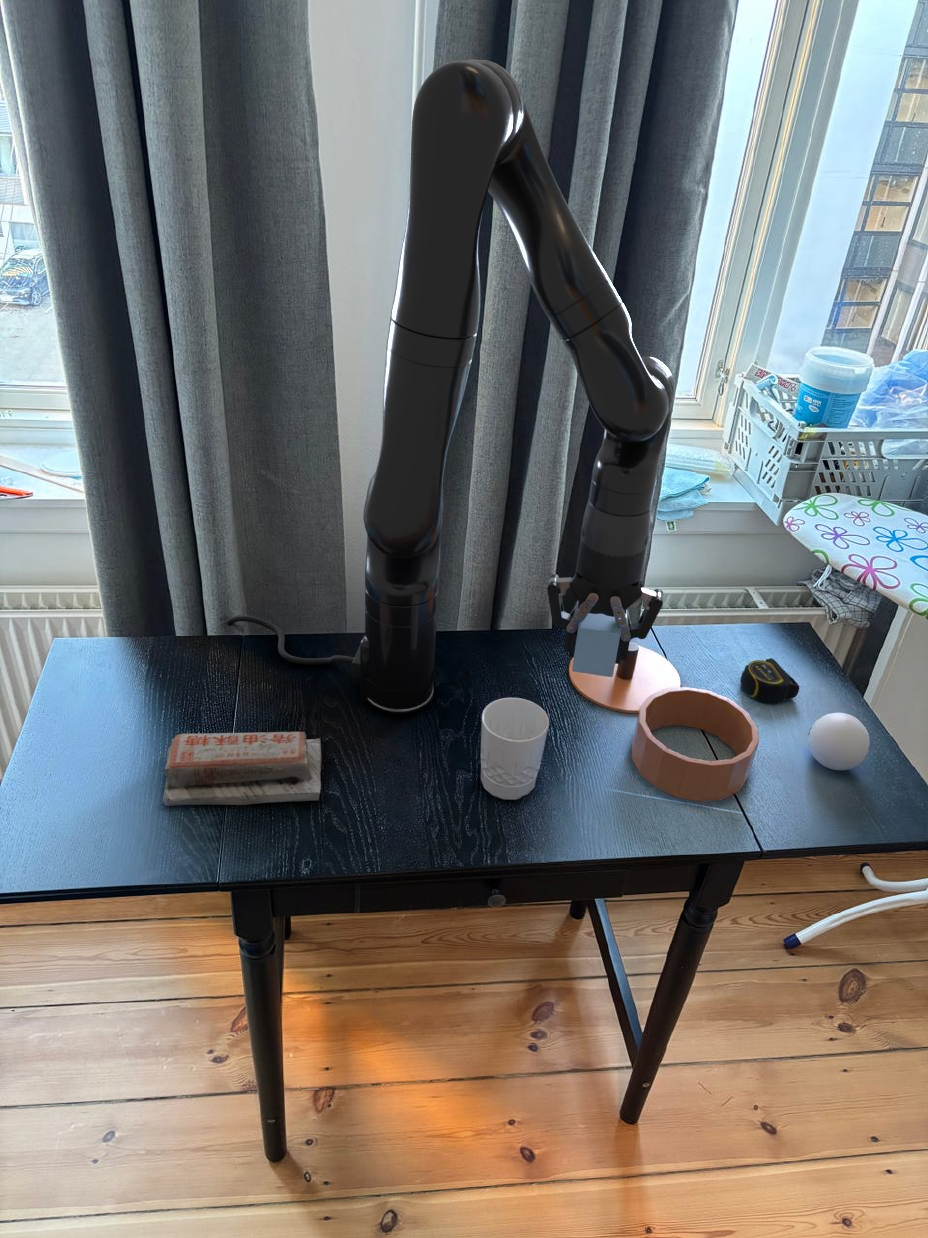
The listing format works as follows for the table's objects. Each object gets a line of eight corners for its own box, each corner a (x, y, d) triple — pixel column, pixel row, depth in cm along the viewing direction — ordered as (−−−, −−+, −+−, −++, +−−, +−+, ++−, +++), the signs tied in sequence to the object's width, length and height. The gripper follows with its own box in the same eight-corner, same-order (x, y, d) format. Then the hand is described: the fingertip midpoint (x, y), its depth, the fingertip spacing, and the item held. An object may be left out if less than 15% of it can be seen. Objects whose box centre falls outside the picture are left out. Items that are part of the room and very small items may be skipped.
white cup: (495, 812, 113) (502, 748, 107) (464, 769, 119) (470, 707, 113) (552, 792, 116) (561, 730, 111) (519, 752, 122) (527, 690, 116)
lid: (562, 706, 130) (568, 670, 127) (573, 640, 143) (578, 606, 139) (679, 725, 128) (688, 689, 125) (679, 657, 141) (687, 623, 138)
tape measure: (797, 704, 133) (804, 683, 131) (754, 711, 132) (761, 690, 129) (770, 675, 139) (776, 654, 137) (729, 681, 137) (735, 660, 135)
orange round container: (628, 792, 117) (637, 753, 113) (633, 717, 129) (641, 679, 125) (749, 813, 115) (762, 774, 112) (743, 735, 127) (754, 697, 124)
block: (571, 671, 117) (578, 628, 113) (575, 648, 121) (581, 605, 118) (612, 677, 117) (620, 634, 113) (614, 654, 121) (622, 611, 117)
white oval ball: (870, 782, 121) (888, 739, 117) (814, 783, 121) (830, 739, 116) (839, 730, 129) (855, 687, 125) (786, 730, 129) (800, 687, 125)
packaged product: (157, 778, 107) (169, 720, 116) (162, 809, 110) (174, 750, 118) (320, 772, 110) (320, 716, 118) (321, 802, 112) (321, 745, 121)
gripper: (677, 530, 111) (653, 648, 121) (555, 513, 113) (540, 631, 122) (677, 562, 105) (651, 684, 114) (547, 544, 107) (533, 665, 116)
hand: (594, 656), depth 118 cm, fingers closed on block, 5 cm apart
